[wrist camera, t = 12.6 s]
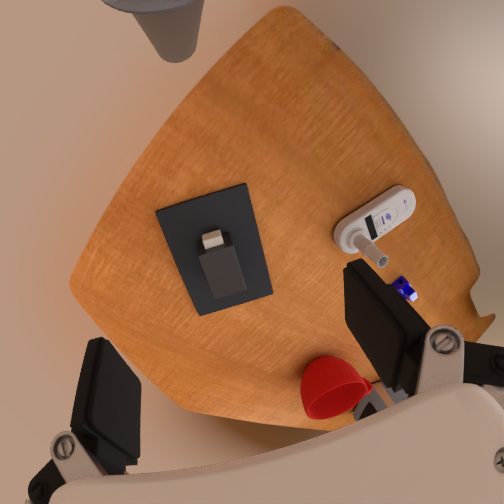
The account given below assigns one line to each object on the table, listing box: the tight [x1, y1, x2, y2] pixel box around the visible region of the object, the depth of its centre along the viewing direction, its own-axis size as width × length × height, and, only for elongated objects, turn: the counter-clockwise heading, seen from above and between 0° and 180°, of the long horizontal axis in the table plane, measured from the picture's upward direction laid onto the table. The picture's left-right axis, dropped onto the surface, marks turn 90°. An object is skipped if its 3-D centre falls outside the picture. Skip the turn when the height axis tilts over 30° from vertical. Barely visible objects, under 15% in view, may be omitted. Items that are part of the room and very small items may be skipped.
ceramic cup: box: [300, 356, 372, 420], centre depth 56 cm, size 13×17×10 cm
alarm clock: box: [353, 381, 408, 421], centre depth 67 cm, size 16×16×16 cm
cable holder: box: [391, 276, 417, 302], centre depth 51 cm, size 8×4×4 cm, turn 129°
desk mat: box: [155, 183, 273, 316], centre depth 41 cm, size 18×12×1 cm, turn 13°
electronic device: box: [334, 185, 416, 268], centre depth 39 cm, size 5×10×15 cm
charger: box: [197, 230, 247, 299], centre depth 39 cm, size 8×4×4 cm, turn 13°
